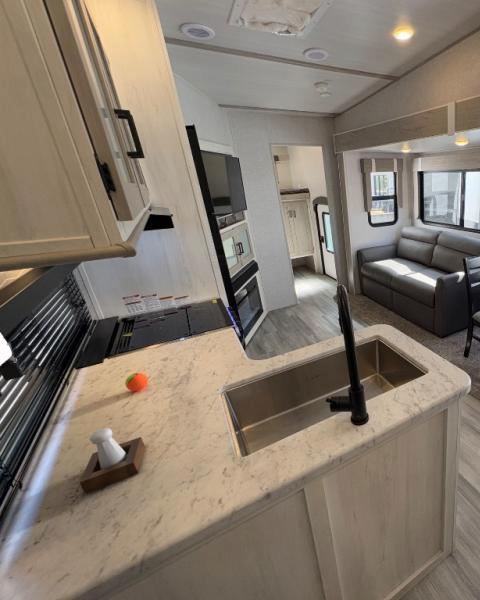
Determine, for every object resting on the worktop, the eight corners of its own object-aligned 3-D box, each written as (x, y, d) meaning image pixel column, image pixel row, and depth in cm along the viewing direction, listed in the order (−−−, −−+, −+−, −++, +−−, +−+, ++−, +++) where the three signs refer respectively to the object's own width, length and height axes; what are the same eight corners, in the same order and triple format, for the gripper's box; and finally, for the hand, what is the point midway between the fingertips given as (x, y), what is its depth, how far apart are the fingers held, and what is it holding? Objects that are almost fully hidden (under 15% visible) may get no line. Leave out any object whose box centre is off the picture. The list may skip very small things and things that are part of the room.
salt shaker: (134, 465, 87) (117, 428, 83) (109, 481, 83) (89, 443, 78) (126, 457, 90) (108, 421, 86) (101, 472, 85) (81, 435, 81)
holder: (85, 493, 79) (79, 482, 78) (98, 464, 88) (92, 453, 87) (138, 473, 84) (133, 462, 83) (145, 446, 93) (140, 436, 92)
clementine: (139, 396, 118) (132, 380, 116) (121, 396, 119) (114, 381, 116) (155, 383, 126) (149, 368, 123) (138, 384, 126) (132, 369, 124)
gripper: (-36, 314, 73) (1, 376, 78) (-95, 342, 58) (-45, 415, 64) (10, 307, 76) (42, 366, 82) (-35, 332, 62) (7, 401, 68)
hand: (4, 387), depth 73 cm, fingers open, 9 cm apart
